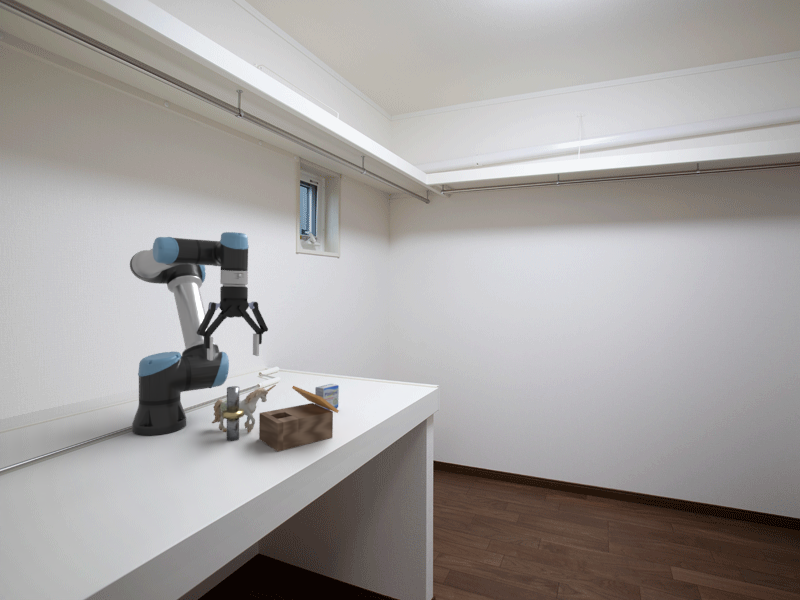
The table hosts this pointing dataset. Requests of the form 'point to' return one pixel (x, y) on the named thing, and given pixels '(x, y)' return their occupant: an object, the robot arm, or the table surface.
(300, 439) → the block
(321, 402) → the latch flap
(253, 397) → the unicorn figurine
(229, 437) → the pin
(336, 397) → the medicine box
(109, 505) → the table surface
